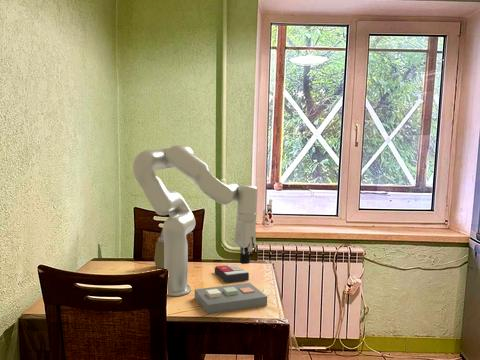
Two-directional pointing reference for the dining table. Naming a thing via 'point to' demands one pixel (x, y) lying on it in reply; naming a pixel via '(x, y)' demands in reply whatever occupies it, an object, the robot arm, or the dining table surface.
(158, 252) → the squeeze bottle
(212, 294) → the key ivory
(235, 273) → the button control box
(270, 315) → the dining table surface
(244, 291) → the key terracotta
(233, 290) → the key sage
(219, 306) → the keypad
